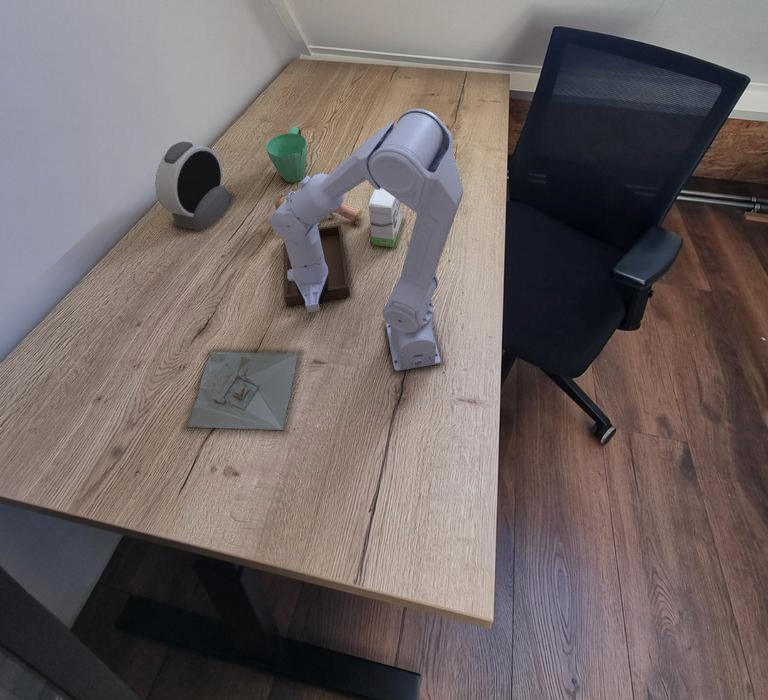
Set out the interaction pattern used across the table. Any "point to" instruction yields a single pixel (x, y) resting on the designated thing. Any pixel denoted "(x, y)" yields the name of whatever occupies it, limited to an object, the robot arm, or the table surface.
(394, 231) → the ink box
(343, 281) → the tray
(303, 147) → the mug
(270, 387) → the grey green square plate
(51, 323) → the table surface
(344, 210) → the grandmother figurine
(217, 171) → the alarm clock
